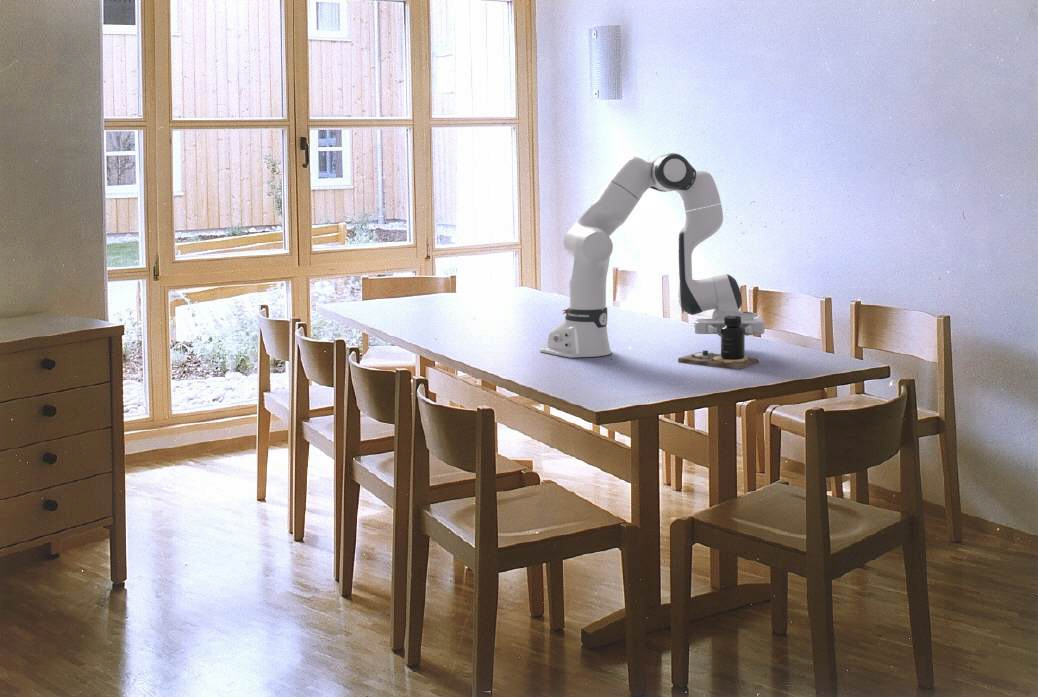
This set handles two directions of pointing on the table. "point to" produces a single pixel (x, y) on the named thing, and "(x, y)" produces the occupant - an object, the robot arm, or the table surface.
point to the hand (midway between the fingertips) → (730, 330)
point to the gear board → (717, 360)
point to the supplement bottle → (732, 339)
